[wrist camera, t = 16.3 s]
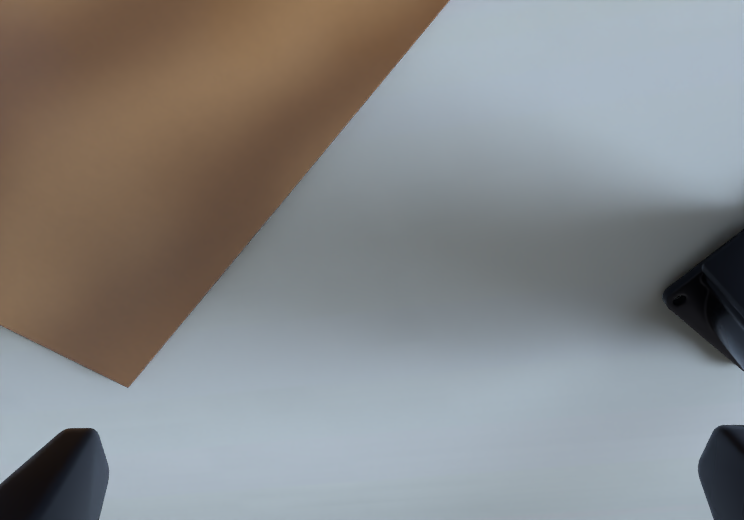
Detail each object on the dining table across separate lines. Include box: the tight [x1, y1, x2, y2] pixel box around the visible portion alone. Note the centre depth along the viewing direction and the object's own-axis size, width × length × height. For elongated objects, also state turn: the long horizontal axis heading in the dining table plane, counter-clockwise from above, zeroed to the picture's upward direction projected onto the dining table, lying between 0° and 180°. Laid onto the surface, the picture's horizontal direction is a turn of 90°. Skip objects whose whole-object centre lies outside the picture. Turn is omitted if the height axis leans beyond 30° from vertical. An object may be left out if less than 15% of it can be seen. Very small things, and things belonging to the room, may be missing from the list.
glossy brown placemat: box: [0, 0, 450, 388], centre depth 18 cm, size 16×20×1 cm
